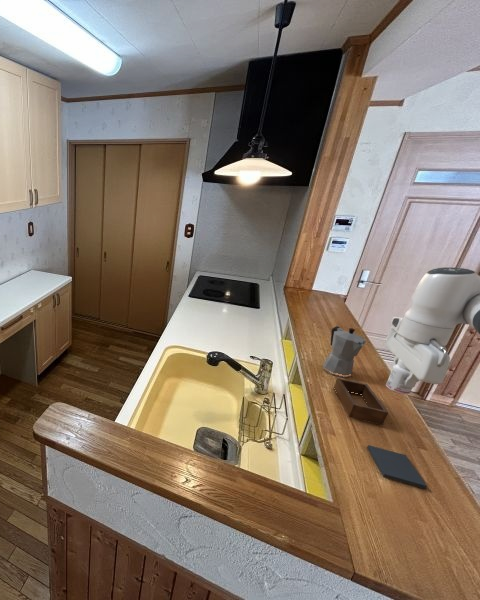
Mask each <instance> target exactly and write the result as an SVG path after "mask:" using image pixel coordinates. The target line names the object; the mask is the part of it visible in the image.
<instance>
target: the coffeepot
mask: <svg viewBox="0 0 480 600" xmlns="http://www.w3.org/2000/svg"><path fill="white" fill-rule="evenodd" d="M355 332H356V329H355V328H352V327H350V328H348V331H346V330H345V329H343V328H341V327H340V326H338V325H337V326H334V327H332V328H331V334H330V346H331V352H329V354H328V355H327V357H326V358H325V360H324V361H323V362H322V364H321V366H322V369H323V370H324V371H325V372H326V373H328V374H330V375H332V376H335V377H337V378H342V379H349V378H350V377H351V376H348V377H343V376H339V375H335V374H332V373H330V372H329V371H331V372H333V373H338V374H342V375H349V374H352V375H353V368H354V362H355V361H354V358H355V357H357V356H358V354H359V353H360V351H361V349H362V348H363V347H364V346H365V344H366V342H367V341H366V339H365V337H363V336H362V335H359V334H357V333H355ZM323 365H324V368H326V369H328V370H329V371H327V370H325V369H324V368H323Z"/></svg>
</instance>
